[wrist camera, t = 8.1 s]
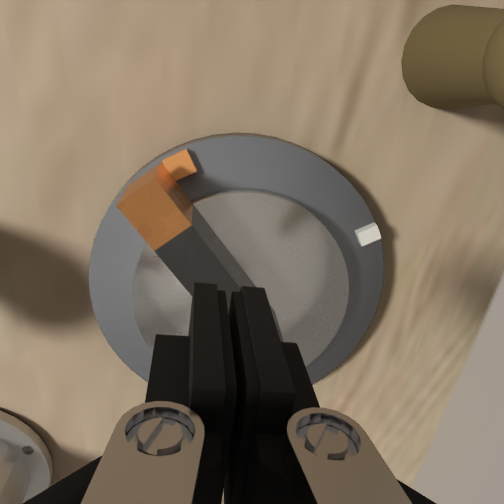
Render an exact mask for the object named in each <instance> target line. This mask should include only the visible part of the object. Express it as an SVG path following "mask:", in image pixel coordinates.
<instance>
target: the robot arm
mask: <svg viewBox="0 0 504 504" xmlns="http://www.w3.org/2000/svg"><path fill="white" fill-rule="evenodd" d="M52 475H53V465H52V460H51V456H50V454H49V451H48V449H47V447H46V445H45V444H44V442H43V441H42V440H41V438H40V437H39V436H38V435H37V434H36V433H35V432H34V431H33V430H32V429H31V428H30V427H29V426H28V425H26V424H25V423H23V422H22V421H20V420H18V419H17V418H15V417H13V416H11V415H9V414H7V413H5V412H2V411H0V504H221V501H222V494H223V488H224V504H436V503H434V502H433V501H431V500H429V499H428V498H426V497H425V496H423V495H421V494H420V493H418V492H417V491H415V490H413V489H412V488H410V487H409V486H407V485H405V484H404V483H402V482H400V481H399V480H397V479H396V478H395V476H394V475H393V473H392V472H391V470H390V469H389V467H388V466H387V464H386V463H385V461H384V460H383V458H382V457H381V455H380V453H379V452H378V450H377V449H376V447H375V446H374V444H373V443H372V441H371V440H370V438H369V437H368V435H367V434H366V432H365V431H364V430H363V429H362V427H361V426H360V425H359V424H358V423H357V422H355V421H354V420H353V419H351V418H350V417H348V416H346V415H344V414H342V413H340V412H338V411H335V410H331V409H327V408H320V406H319V403H318V400H317V398H316V395H315V392H314V389H313V386H312V384H311V381H310V378H309V375H308V372H307V370H306V367H305V364H304V361H303V358H302V355H301V353H300V350H299V347H298V345H297V343H293V342H281V341H280V338H279V334H278V331H277V328H276V324H275V321H274V318H273V314H272V311H271V308H270V304H269V301H268V298H267V294H266V291H265V288H261V287H249V286H241V288H240V292H236V291H232V293H231V299H230V307H229V314H228V307H227V299H226V291H223V290H217V284H210V283H198V282H194V285H193V293H192V303H191V313H190V323H189V333H188V336H179V335H163V334H156V336H155V342H154V349H153V355H152V362H151V368H150V374H149V381H148V387H147V394H146V400H145V403H143V404H141V405H138V406H136V407H133V408H132V409H130V410H129V411H127V412H126V413H125V414H123V416H122V417H121V418H120V420H119V421H118V423H117V424H116V427H115V429H114V431H113V433H112V435H111V438H110V440H109V442H108V444H107V446H106V449H105V451H104V453H103V455H102V456H101V457H99V458H97V459H96V460H94V461H92V462H91V463H89V464H87V465H86V466H84V467H82V468H81V469H79V470H77V471H76V472H74V473H72V474H71V475H69V476H67V477H66V478H64V479H62V480H61V481H59V482H57V483H56V484H54V485H52V486H51V487H50V484H51V481H52Z"/></svg>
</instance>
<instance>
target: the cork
mask: <svg viewBox="0 0 504 504" xmlns="http://www.w3.org/2000/svg"><path fill="white" fill-rule="evenodd" d="M402 72H403V79H404V81H405V83H406V86H407V88H408V90H409V92H410V93H411V94H412V95H413V96H414V97H415V98H416V99H417V100H418V101H420V102H422V103H424V104H426V105H428V106H430V107H440V108H449V107H461V106H473V105H486V104H498V105H499V106H501V107H502V108H504V9H498V8H486V7H474V6H462V5H449V6H445V7H441V8H437V9H436V10H434V11H432V12H431V13H429V14H428V15H426V16H424V17H423V18H422V19H421V20H420V22H419V23H418V24H417V25H416V26H415V27H414V28H413V30H412V31H411V33H410V35H409V37H408V39H407V41H406V43H405V46H404V51H403V56H402Z"/></svg>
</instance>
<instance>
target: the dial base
mask: <svg viewBox="0 0 504 504" xmlns="http://www.w3.org/2000/svg"><path fill="white" fill-rule="evenodd" d="M160 162H162V164H163V165H164V166H165V168H166V169H167V170H168V172H169V173H170V174H171V176H172V177H173V178H174V179H175V181H176V182H177V183H178V185H179V186H180V187H181V189H182V190H183V191H184V193H185V194H186V195H187V197H188V198H189V199H190V200H192V199H194V198H196V197H199V196H201V195H203V194H207V193H210V192H213V191H217V190H222V189H229V188H256V189H264V190H268V191H272V192H276V193H279V194H281V195H284V196H286V197H289V198H291V199H293V200H294V201H296V202H298V203H300V204H302V205H303V206H304V207H306V208H307V209H308V210H310V211H311V212H312V213H313V214H314V215H315V216H316V217H317V218H318V219H319V220H320V221H321V222H322V223H323V224H324V226H325V227H326V228H327V230H328V231H329V232H330V234H331V235H332V236H333V238H334V239H335V241H336V242H337V244H338V246H339V248H340V250H341V252H342V255H343V257H344V260H345V263H346V267H347V272H348V279H349V295H348V303H347V307H346V312H345V315H344V318H343V320H342V323H341V325H340V327H339V329H338V331H337V333H336V335H335V336H334V338H333V339H332V341H331V342H330V343H329V345H328V346H327V347H326V348H325V350H324V351H323V352H322V353H321V354H320V355H319V356H318V357H317V358H316V359H314V360H313V361H312V362H311V363H310V364H309V365H307V366H306V370H307V372H308V375H309V378H310V381H311V384H314V383H315V382H317V381H319V380H320V379H322V378H323V377H325V376H326V375H327V374H329V373H330V372H331V371H332V370H334V369H335V368H336V367H337V366H338V365H339V364H340V363H342V362H343V361H344V360H345V359H346V358H347V357H348V356H349V355H350V353H351V352H352V351H353V350H354V348H355V347H356V346H357V345H358V343H359V342H360V341H361V339H362V337H363V336H364V334H365V333H366V331H367V329H368V328H369V326H370V323H371V321H372V319H373V317H374V315H375V313H376V310H377V306H378V303H379V300H380V297H381V291H382V285H383V280H384V257H383V248H382V243H381V235H380V232H379V229H378V226H377V225H376V223H375V221H374V218H373V216H372V213H371V211H370V210H369V208H368V206H367V205H366V203H365V201H364V200H363V198H362V196H361V195H360V194H359V193H358V192H357V190H356V189H355V188H354V187H353V185H352V184H351V183H350V182H349V181H348V180H347V179H346V178H345V177H344V176H343V175H341V174H340V173H339V172H338V171H337V170H336V169H335V168H334V167H332V166H331V165H330V164H329V163H327V162H326V161H325V160H323V159H322V158H320V157H319V156H317V155H316V154H314V153H313V152H311V151H309V150H307V149H305V148H303V147H301V146H299V145H297V144H294V143H292V142H288V141H285V140H282V139H279V138H276V137H271V136H266V135H260V134H251V133H228V134H217V135H211V136H207V137H203V138H198V139H194V140H192V141H189V142H186V143H184V144H181V145H178V146H176V147H174V148H172V149H170V150H168V151H166V152H165V153H163V154H161V155H159V156H157V157H156V158H155V159H153V160H152V161H151V162H149V163H148V164H146V165H145V166H144V167H142V168H141V169H140V170H139V171H138V172H137V173H136V174H135V175H134V176H133V177H132V178H131V179H130V180H129V181H128V182H127V183H126V184H125V186H124V187H123V188H122V190H121V191H120V192H119V193H118V195H117V196H116V197H115V199H114V201H113V202H112V204H111V205H110V207H109V209H108V211H107V213H106V214H105V216H104V218H103V220H102V221H101V223H100V226H99V229H98V231H97V234H96V236H95V239H94V242H93V247H92V251H91V256H90V263H89V290H90V298H91V302H92V306H93V311H94V314H95V317H96V319H97V322H98V324H99V327H100V329H101V331H102V333H103V334H104V336H105V338H106V340H107V342H108V343H109V345H110V346H111V347H112V349H113V350H114V351H115V353H116V354H117V355H118V357H119V358H120V359H121V360H122V361H123V362H124V363H125V364H126V365H127V366H128V367H129V368H130V369H131V370H132V371H134V372H135V373H136V374H137V375H139V376H140V377H141V378H143V379H144V380H145V381H147V382H148V381H149V374H150V368H151V362H152V355H153V351H152V350H151V349H150V348H149V346H148V345H147V343H146V342H145V340H144V338H143V337H142V335H141V333H140V331H139V328H138V326H137V323H136V320H135V316H134V312H133V304H132V285H133V279H134V274H135V270H136V267H137V264H138V261H139V258H140V255H141V252H142V250H143V248H144V246H145V244H146V241H145V240H144V238H143V237H142V236H141V235H140V234H139V232H138V231H137V230H136V229H135V228H134V226H133V225H132V224H131V223H130V222H129V220H128V219H127V218H126V217H125V216H124V215H123V213H122V212H121V211H120V210H119V209H118V207H117V206H116V205H117V203H118V201H119V200H120V198H121V196H122V195H123V193H124V191H125V189H126V188H127V186H128V185H129V184H131V183H132V182H134V181H135V180H136V179H138V178H139V177H141V176H142V175H144V174H145V173H146V172H148V171H149V170H151V169H152V168H153V167H155V166H156V165H158V164H159V163H160Z"/></svg>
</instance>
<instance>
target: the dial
mask: <svg viewBox="0 0 504 504" xmlns="http://www.w3.org/2000/svg"><path fill="white" fill-rule="evenodd" d="M116 206H117V207H118V209H119V210H120V211H121V212H122V213H123V215H124V216H125V217H126V218H127V219H128V220H129V222H130V223H131V224H132V225H133V226H134V228H135V229H136V230H137V231H138V232H139V234H140V235H141V236H142V237H143V238H144V240H145V241H146V244H145V246H144V248H143V250H142V252H141V255H140V258H139V261H138V264H137V267H136V270H135V274H134V279H133V285H132V304H133V312H134V316H135V320H136V323H137V326H138V328H139V331H140V333H141V335H142V337H143V338H144V340H145V342H146V343H147V345H148V346H149V348H150V349H151V350H152V351H153V349H154V342H155V336H156V334H163V335H179V336H188V333H189V323H190V313H191V303H192V293H193V285H194V282H198V283H210V284H217V290H223V291H226V299H227V307H228V314H229V307H230V299H231V293H232V291H236V292H240V288H241V286H249V287H261V288H265V291H266V294H267V298H268V301H269V304H270V308H271V311H272V314H273V318H274V321H275V324H276V328H277V331H278V334H279V338H280V341H281V342H293V343H297V345H298V347H299V350H300V353H301V355H302V358H303V361H304V364H305V367H306V366H307V365H309V364H310V363H311V362H312V361H313V360H314V359H316V358H317V357H318V356H319V355H320V354H321V353H322V352H323V351H324V350H325V348H326V347H327V346H328V345H329V343H330V342H331V341H332V339H333V338H334V336H335V335H336V333H337V331H338V329H339V327H340V325H341V323H342V320H343V318H344V315H345V312H346V307H347V303H348V295H349V279H348V272H347V267H346V263H345V260H344V257H343V255H342V252H341V250H340V248H339V246H338V244H337V242H336V241H335V239H334V238H333V236H332V235H331V234H330V232H329V231H328V230H327V228H326V227H325V226H324V224H323V223H322V222H321V221H320V220H319V219H318V218H317V217H316V216H315V215H314V214H313V213H312V212H311V211H310V210H308V209H307V208H306V207H304V206H303V205H302V204H300V203H298V202H296V201H294V200H293V199H291V198H289V197H286V196H284V195H281V194H279V193H276V192H272V191H268V190H264V189H256V188H229V189H222V190H217V191H213V192H210V193H207V194H203V195H201V196H199V197H196V198H194V199H192V200H190V199H189V198H188V197H187V195H186V194H185V193H184V191H183V190H182V189H181V187H180V186H179V185H178V183H177V182H176V181H175V179H174V178H173V177H172V176H171V174H170V173H169V172H168V170H167V169H166V168H165V166H164V165H163V164H162V162H160V163H159V164H158V165H156V166H155V167H153V168H152V169H151V170H149V171H148V172H146V173H145V174H144V175H142V176H141V177H139V178H138V179H136V180H135V181H134V182H132V183H131V184H129V185H128V186H127V188H126V189H125V191H124V193H123V195H122V196H121V198H120V200H119V201H118V203H117V205H116Z"/></svg>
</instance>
